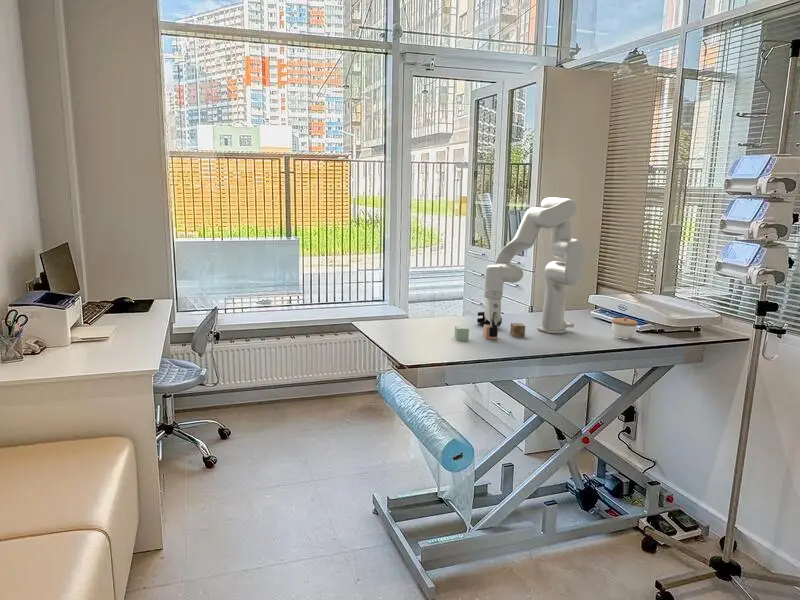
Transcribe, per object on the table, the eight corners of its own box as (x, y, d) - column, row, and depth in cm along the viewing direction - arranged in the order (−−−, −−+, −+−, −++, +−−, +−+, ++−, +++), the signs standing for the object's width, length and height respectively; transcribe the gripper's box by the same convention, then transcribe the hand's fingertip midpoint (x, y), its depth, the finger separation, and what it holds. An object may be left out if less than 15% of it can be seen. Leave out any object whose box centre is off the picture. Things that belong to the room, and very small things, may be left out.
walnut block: (521, 334, 261) (522, 323, 260) (524, 337, 257) (525, 326, 256) (510, 334, 261) (510, 323, 260) (513, 337, 256) (514, 325, 255)
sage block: (466, 337, 252) (466, 325, 251) (468, 340, 247) (469, 328, 246) (454, 337, 252) (455, 325, 251) (456, 340, 247) (457, 328, 246)
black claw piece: (501, 328, 270) (502, 314, 268) (488, 329, 267) (489, 315, 265) (489, 323, 278) (490, 309, 277) (476, 324, 275) (477, 310, 274)
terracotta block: (494, 336, 256) (495, 324, 255) (497, 339, 251) (498, 327, 250) (482, 335, 256) (483, 324, 255) (485, 339, 251) (486, 327, 250)
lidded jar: (616, 340, 258) (619, 319, 256) (606, 334, 268) (608, 314, 266) (640, 341, 259) (643, 320, 257) (628, 334, 269) (631, 314, 267)
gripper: (507, 298, 242) (504, 339, 245) (497, 290, 259) (493, 328, 262) (489, 298, 241) (486, 338, 244) (480, 290, 258) (477, 328, 261)
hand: (490, 333), depth 253 cm, fingers open, 9 cm apart
